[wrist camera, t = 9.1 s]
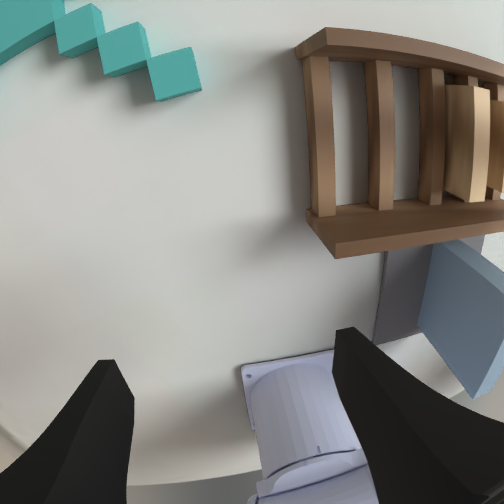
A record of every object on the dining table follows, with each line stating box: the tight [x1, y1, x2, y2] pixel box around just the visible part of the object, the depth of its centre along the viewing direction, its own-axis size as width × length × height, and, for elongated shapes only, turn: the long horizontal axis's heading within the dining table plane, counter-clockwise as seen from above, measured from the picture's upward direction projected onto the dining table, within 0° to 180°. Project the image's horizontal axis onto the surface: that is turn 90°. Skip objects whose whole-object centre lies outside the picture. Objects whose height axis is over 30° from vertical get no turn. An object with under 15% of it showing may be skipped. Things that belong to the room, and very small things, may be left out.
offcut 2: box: [486, 100, 504, 193], centre depth 16 cm, size 6×2×4 cm, turn 5°
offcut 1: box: [443, 85, 490, 202], centre depth 16 cm, size 7×2×4 cm, turn 5°
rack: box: [295, 27, 504, 259], centre depth 15 cm, size 10×16×5 cm, turn 95°
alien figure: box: [0, 0, 202, 101], centre depth 10 cm, size 20×2×20 cm
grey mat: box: [372, 235, 485, 345], centre depth 22 cm, size 10×10×1 cm
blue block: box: [417, 239, 504, 399], centre depth 18 cm, size 8×2×9 cm, turn 6°
